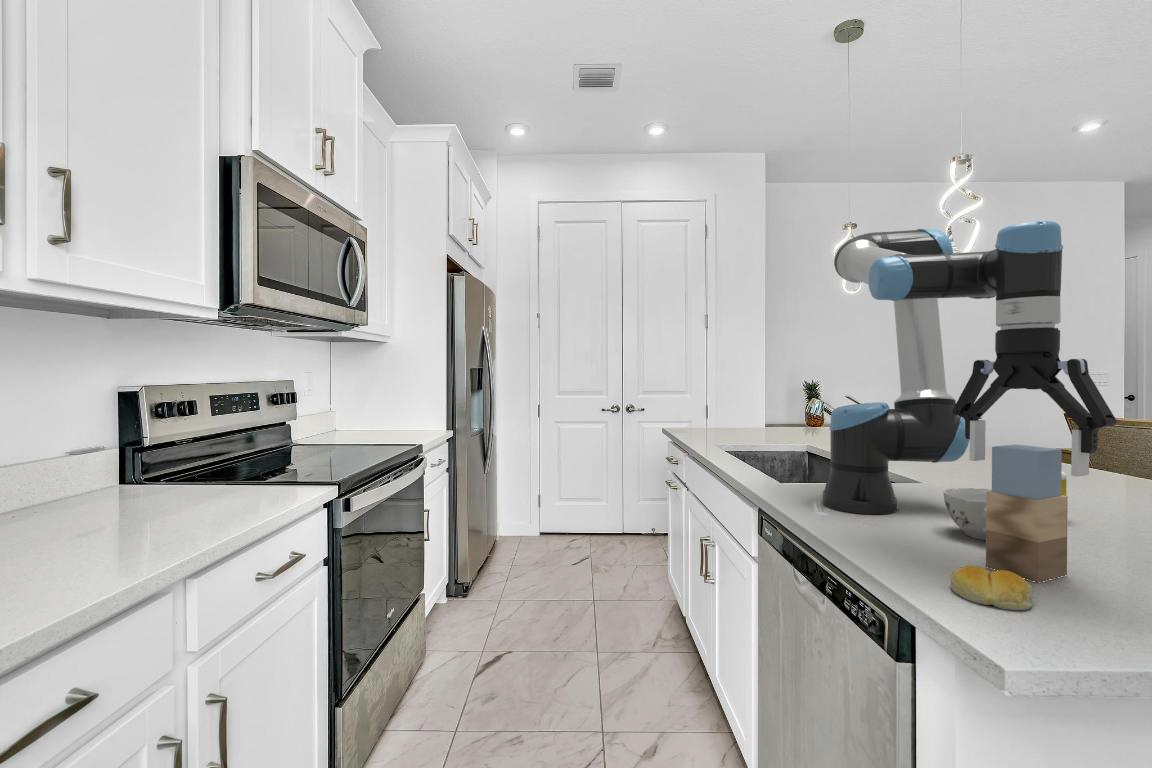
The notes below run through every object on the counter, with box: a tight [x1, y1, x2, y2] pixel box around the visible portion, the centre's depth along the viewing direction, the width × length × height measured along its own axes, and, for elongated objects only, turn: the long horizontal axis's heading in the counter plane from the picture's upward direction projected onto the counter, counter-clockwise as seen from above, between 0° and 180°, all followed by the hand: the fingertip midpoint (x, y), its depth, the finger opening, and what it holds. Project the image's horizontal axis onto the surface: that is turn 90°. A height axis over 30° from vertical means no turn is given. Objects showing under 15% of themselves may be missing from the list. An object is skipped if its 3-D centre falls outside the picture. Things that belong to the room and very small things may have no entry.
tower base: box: [985, 530, 1068, 584], centre depth 82 cm, size 7×7×6 cm
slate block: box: [991, 443, 1063, 500], centre depth 82 cm, size 6×6×7 cm
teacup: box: [943, 487, 992, 541], centre depth 99 cm, size 15×12×8 cm
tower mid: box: [986, 491, 1069, 542], centre depth 82 cm, size 7×7×6 cm
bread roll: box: [949, 565, 1034, 611], centre depth 73 cm, size 8×9×4 cm
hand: (1024, 467), depth 82 cm, fingers open, 13 cm apart
